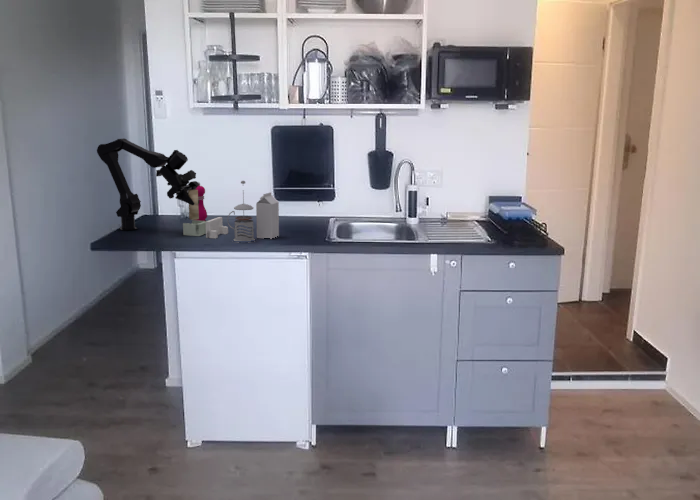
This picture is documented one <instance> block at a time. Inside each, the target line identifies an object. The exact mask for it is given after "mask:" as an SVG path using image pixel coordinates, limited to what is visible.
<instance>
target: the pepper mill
mask: <svg viewBox="0 0 700 500" xmlns="http://www.w3.org/2000/svg"><path fill="white" fill-rule="evenodd" d="M197 182H198V183H199V186H198V187H197V188H196V189H195V190H198V200H199V202H200V203H199V204H198V209H199V219H197V221H207V220H206V219H207V218H208V212H207V209H206V208H205V205H204V200H205V194H206V189H205V187H204V186H202V185H201V183H200V182H199V181H197Z"/></svg>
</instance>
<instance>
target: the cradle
mask: <svg viewBox="0 0 700 500" xmlns="http://www.w3.org/2000/svg"><path fill="white" fill-rule="evenodd" d="M206 221H207V220H206ZM206 221H197V220H191V223H187V222H183V223H182V229H183V231H182V233H183V234H182V235H183V236H191V237H200V236H203V235H206Z"/></svg>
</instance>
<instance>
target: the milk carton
mask: <svg viewBox="0 0 700 500" xmlns="http://www.w3.org/2000/svg"><path fill="white" fill-rule="evenodd" d="M255 207H256V210H255V213H256V217H255V218H256V238H257V239H264V238H270V239H269V240H273V239H272V238H274V239H276V238H278V237H280V220H279V215H280V214H279V210H280V206H279V201H278V200H277V199H276V198H275V197H274V196H273V195H272V191H271V192H268V193H263V195H262V196H260V197H259V200H258V201H257V202H256V205H255ZM277 236H278V237H277ZM275 237H276V238H275Z"/></svg>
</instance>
